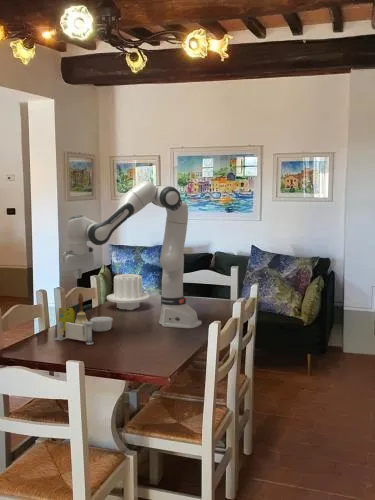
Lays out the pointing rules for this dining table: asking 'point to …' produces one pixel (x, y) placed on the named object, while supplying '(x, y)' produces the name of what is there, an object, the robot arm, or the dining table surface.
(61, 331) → the post
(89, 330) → the gate post
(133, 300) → the ribbed cylinder on disc
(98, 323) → the ramekin
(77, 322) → the hand bell
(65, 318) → the crayon box
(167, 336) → the dining table surface
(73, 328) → the gate
